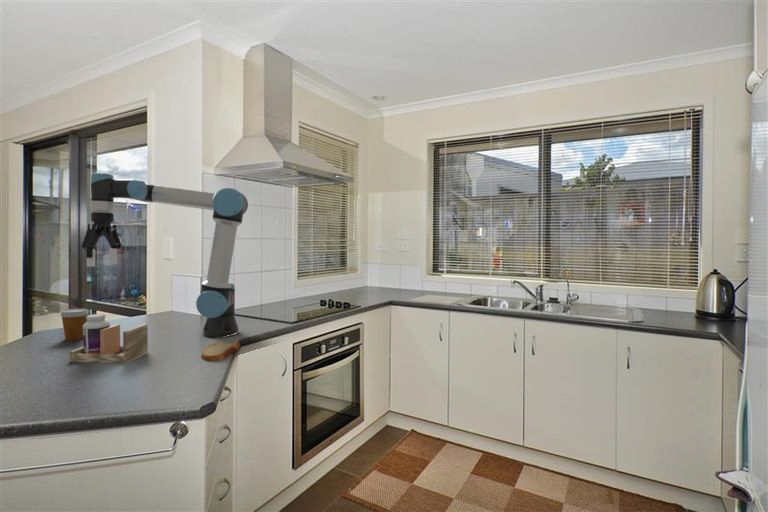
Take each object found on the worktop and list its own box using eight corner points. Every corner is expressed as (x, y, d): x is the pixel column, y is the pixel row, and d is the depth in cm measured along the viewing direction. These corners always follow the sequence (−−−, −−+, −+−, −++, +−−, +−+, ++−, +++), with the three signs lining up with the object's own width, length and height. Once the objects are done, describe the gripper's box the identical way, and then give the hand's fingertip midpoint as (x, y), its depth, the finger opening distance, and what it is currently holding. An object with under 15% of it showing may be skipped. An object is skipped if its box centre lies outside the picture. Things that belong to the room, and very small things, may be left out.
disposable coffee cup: (94, 337, 180) (93, 309, 179) (71, 342, 171) (70, 313, 170) (78, 335, 183) (78, 307, 182) (54, 340, 174) (54, 311, 173)
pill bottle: (116, 352, 155) (115, 313, 154) (97, 359, 147) (96, 318, 146) (97, 350, 156) (96, 312, 155) (78, 357, 149) (76, 317, 148)
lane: (147, 353, 158) (147, 324, 158) (127, 362, 146) (127, 331, 145) (94, 351, 158) (94, 322, 158) (69, 361, 146) (69, 330, 145)
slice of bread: (209, 363, 148) (209, 353, 148) (188, 353, 160) (188, 343, 160) (255, 354, 161) (255, 344, 161) (233, 345, 173) (233, 336, 173)
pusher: (120, 351, 156) (120, 324, 156) (103, 358, 147) (103, 329, 147) (117, 350, 156) (116, 324, 156) (100, 358, 147) (100, 329, 147)
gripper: (113, 213, 181) (113, 262, 182) (69, 210, 156) (70, 267, 157) (130, 214, 181) (130, 263, 182) (90, 210, 156) (90, 267, 157)
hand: (102, 265), depth 169 cm, fingers open, 13 cm apart
